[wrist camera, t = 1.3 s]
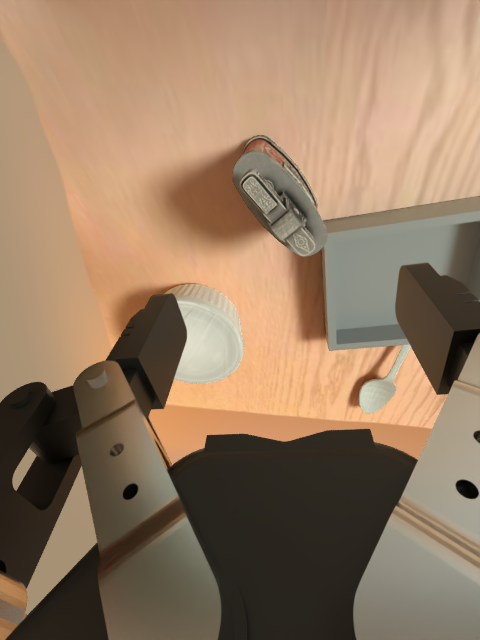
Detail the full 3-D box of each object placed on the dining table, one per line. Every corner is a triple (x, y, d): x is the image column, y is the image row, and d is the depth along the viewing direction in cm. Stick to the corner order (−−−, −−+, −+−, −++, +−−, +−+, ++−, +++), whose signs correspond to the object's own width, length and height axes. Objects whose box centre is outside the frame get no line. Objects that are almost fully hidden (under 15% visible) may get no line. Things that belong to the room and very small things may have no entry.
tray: (496, 193, 25) (519, 204, 23) (462, 320, 33) (477, 339, 31) (319, 221, 28) (323, 234, 26) (325, 332, 36) (328, 350, 33)
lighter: (325, 202, 27) (346, 252, 19) (294, 228, 29) (301, 283, 21) (264, 123, 24) (258, 143, 16) (233, 156, 26) (213, 189, 18)
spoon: (349, 400, 42) (351, 410, 41) (426, 264, 30) (431, 272, 28) (380, 407, 42) (382, 418, 41) (470, 273, 29) (478, 282, 28)
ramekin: (146, 267, 33) (127, 294, 29) (252, 280, 33) (248, 309, 28) (154, 346, 40) (140, 377, 35) (242, 357, 39) (238, 390, 35)
